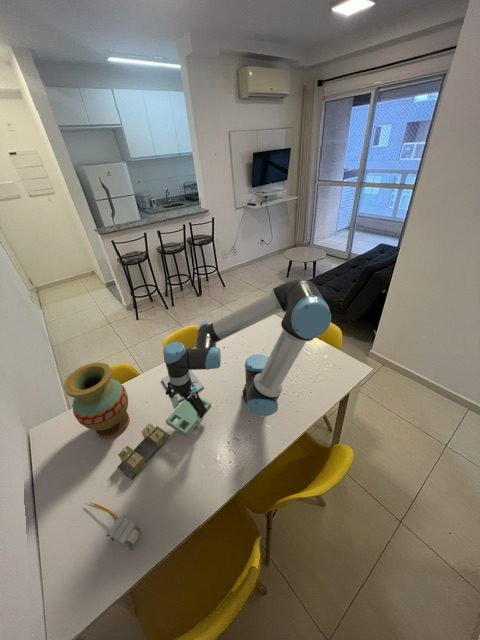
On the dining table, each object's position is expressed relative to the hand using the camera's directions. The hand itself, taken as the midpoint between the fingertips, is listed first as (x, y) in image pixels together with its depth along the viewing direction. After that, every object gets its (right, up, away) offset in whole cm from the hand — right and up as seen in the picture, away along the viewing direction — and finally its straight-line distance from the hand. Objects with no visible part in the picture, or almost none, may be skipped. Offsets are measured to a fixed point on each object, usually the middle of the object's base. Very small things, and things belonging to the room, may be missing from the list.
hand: (188, 413), depth 109 cm
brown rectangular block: (+1, -6, +4) cm, 7 cm away
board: (0, -1, +1) cm, 1 cm away
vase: (-34, -7, +6) cm, 35 cm away
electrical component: (-20, -27, -25) cm, 42 cm away
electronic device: (-7, +6, +24) cm, 25 cm away
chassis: (-16, -13, -5) cm, 22 cm away
